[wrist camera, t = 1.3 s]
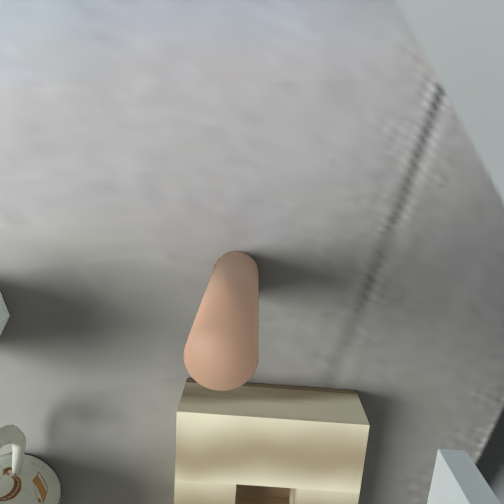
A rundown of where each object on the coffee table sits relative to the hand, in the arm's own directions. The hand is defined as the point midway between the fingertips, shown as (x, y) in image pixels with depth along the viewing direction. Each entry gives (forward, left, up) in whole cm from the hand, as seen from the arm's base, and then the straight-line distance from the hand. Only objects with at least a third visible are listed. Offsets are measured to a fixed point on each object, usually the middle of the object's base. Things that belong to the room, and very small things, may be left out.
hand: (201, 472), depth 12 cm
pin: (-1, 0, -18) cm, 18 cm away
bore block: (+14, +3, -18) cm, 23 cm away
